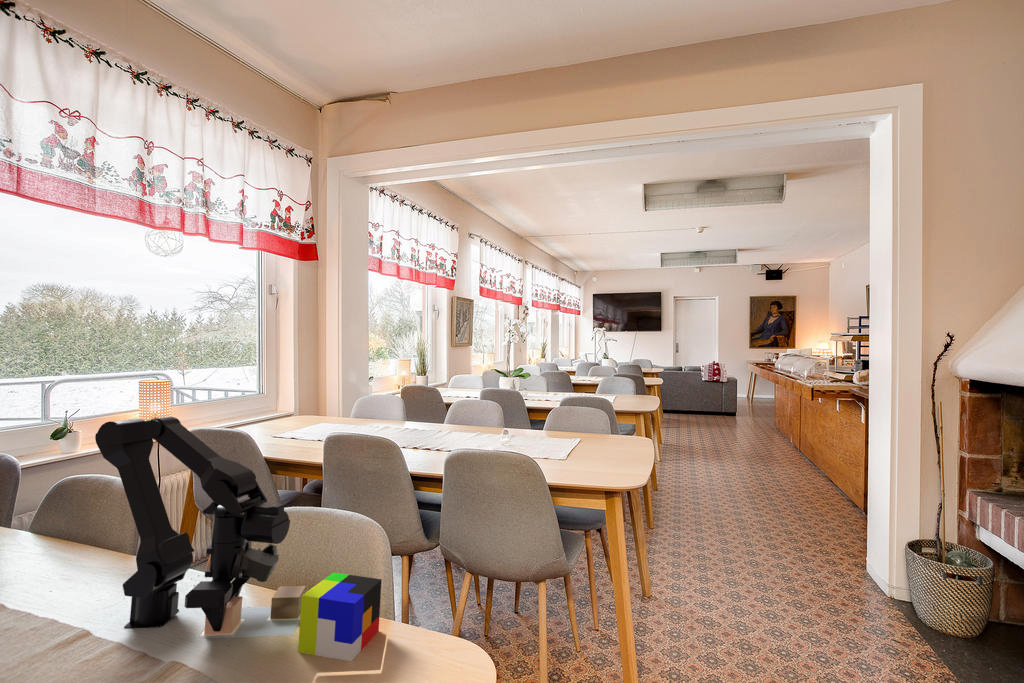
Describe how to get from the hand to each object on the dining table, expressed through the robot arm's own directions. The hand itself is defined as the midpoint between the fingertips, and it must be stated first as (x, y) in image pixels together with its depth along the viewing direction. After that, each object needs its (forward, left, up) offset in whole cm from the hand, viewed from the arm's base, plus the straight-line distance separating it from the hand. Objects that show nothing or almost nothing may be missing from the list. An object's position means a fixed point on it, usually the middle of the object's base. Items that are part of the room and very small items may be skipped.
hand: (223, 624), depth 92 cm
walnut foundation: (+10, +5, -1) cm, 11 cm away
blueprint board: (+5, +2, -1) cm, 5 cm away
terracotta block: (0, 0, -1) cm, 1 cm away
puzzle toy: (+22, -6, -1) cm, 23 cm away
